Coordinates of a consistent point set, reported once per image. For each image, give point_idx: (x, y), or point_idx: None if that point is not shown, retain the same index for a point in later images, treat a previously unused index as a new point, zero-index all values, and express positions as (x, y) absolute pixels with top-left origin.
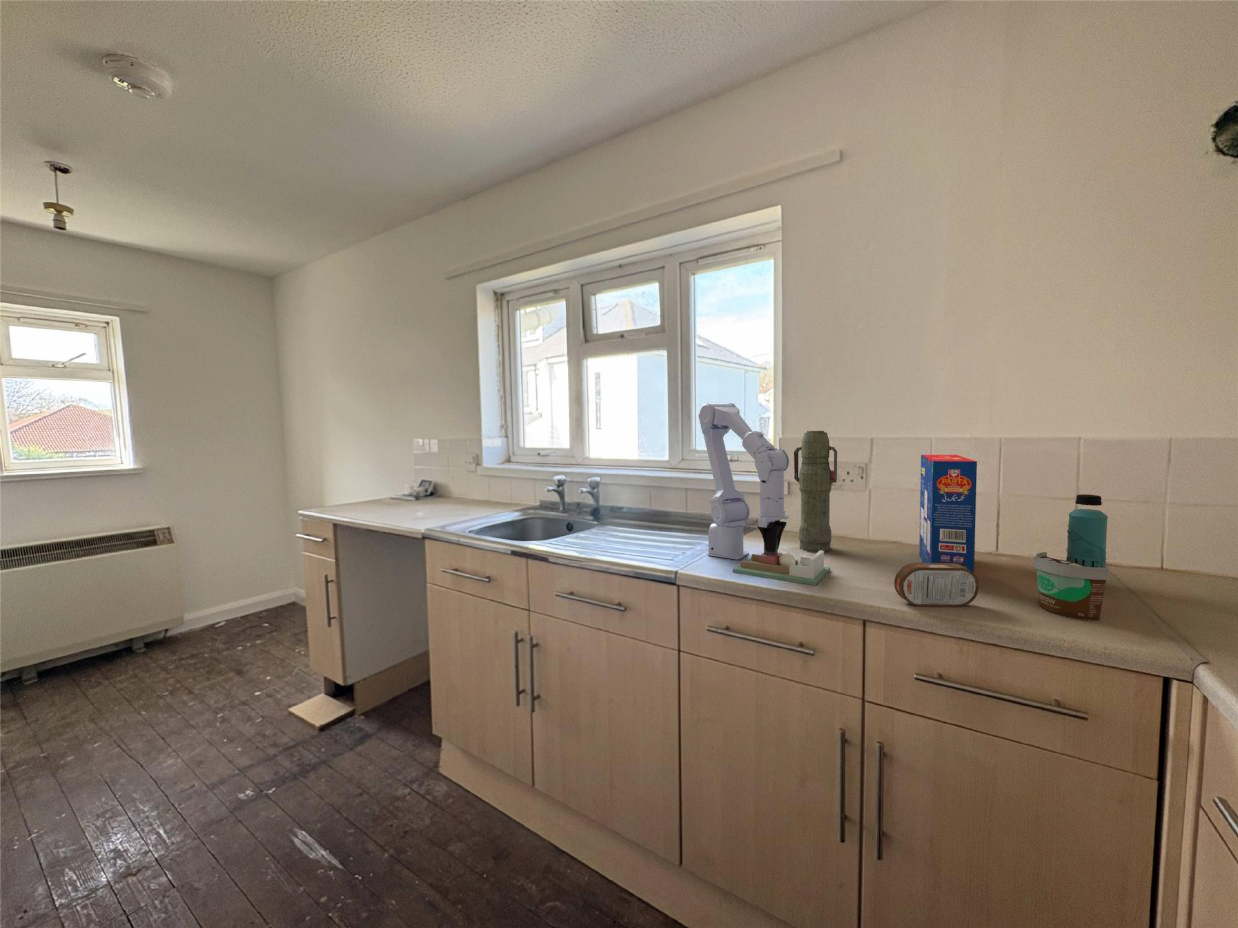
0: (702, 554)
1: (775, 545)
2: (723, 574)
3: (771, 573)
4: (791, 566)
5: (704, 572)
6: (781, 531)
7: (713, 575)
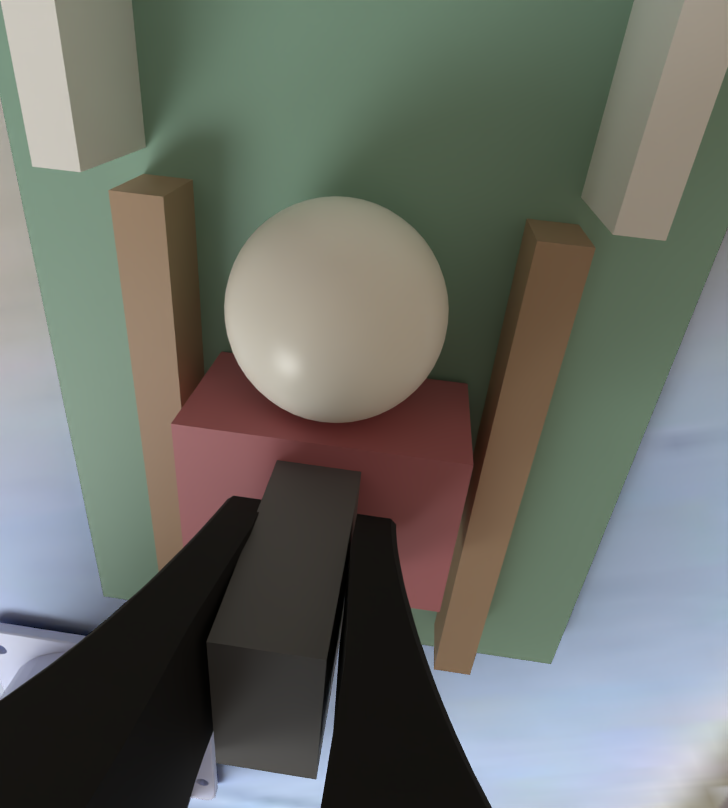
0: (203, 803)
1: (402, 586)
2: (634, 676)
3: (601, 392)
4: (670, 203)
5: (618, 759)
6: (115, 749)
7: (680, 717)
